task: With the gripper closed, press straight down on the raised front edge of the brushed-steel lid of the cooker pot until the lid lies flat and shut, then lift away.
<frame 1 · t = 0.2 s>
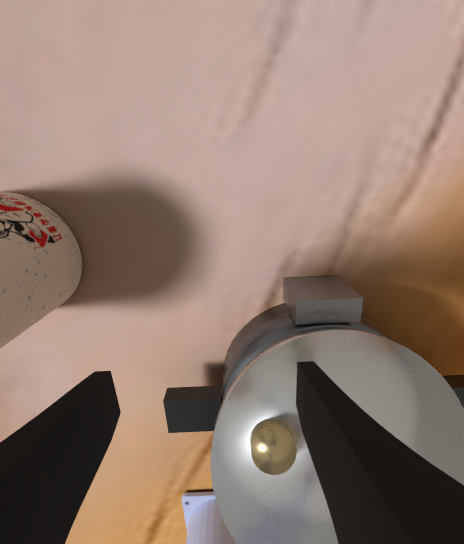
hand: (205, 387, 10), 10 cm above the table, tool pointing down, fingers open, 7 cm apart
teacup with lid: (4, 248, 19), on the table
cooker lid: (342, 462, 15), point 8 cm above the table, hinge at 20.0°
cooker pot: (305, 373, 22), on the table
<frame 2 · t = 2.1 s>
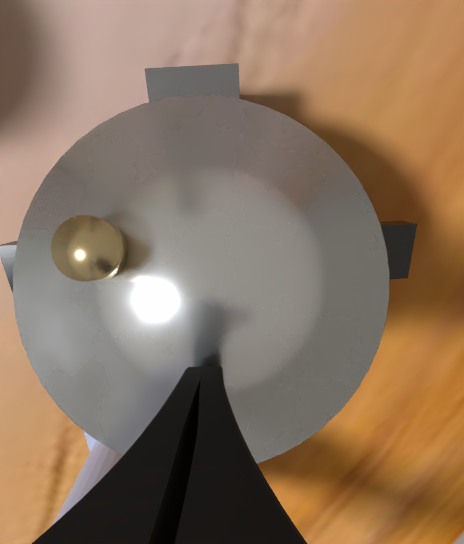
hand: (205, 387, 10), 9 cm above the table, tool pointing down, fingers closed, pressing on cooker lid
cooker lid: (200, 282, 10), point 8 cm above the table, hinge at 18.5°, touching gripper
cooker pot: (212, 246, 18), on the table
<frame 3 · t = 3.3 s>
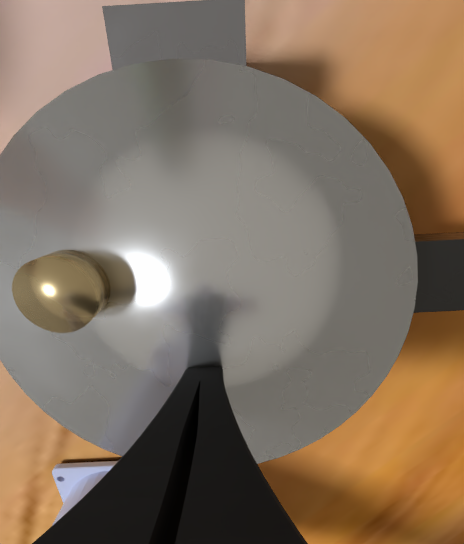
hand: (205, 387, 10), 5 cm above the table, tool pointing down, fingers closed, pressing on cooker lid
cooker lid: (198, 317, 9), point 5 cm above the table, hinge at -0.3°, touching gripper
cooker pot: (208, 262, 14), on the table
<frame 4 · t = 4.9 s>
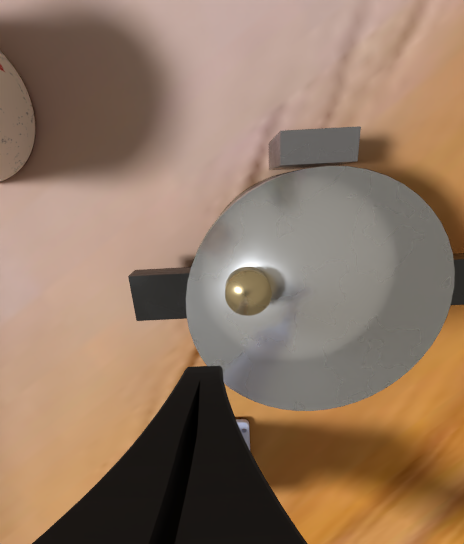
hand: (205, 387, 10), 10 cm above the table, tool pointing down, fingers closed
cooker lid: (317, 307, 15), point 5 cm above the table, hinge at -0.3°
cooker pot: (296, 270, 20), on the table
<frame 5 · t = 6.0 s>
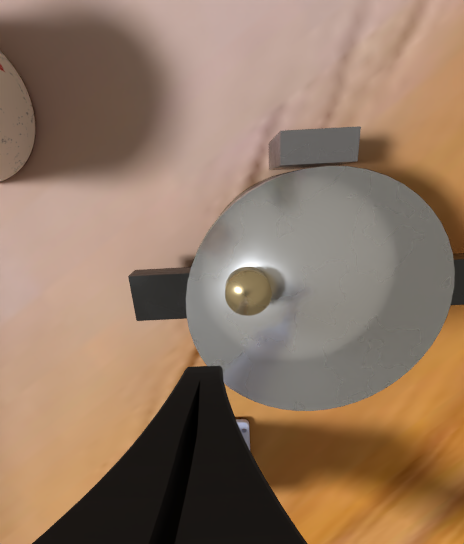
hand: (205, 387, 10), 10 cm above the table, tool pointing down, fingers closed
cooker lid: (317, 307, 15), point 5 cm above the table, hinge at -0.3°
cooker pot: (296, 270, 20), on the table
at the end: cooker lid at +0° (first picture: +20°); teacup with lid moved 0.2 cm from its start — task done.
